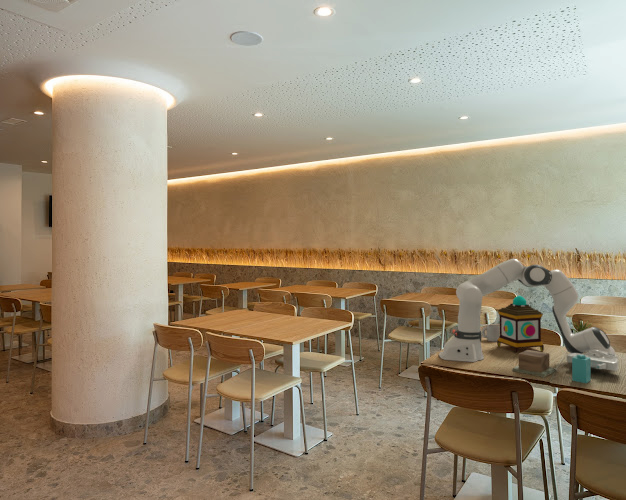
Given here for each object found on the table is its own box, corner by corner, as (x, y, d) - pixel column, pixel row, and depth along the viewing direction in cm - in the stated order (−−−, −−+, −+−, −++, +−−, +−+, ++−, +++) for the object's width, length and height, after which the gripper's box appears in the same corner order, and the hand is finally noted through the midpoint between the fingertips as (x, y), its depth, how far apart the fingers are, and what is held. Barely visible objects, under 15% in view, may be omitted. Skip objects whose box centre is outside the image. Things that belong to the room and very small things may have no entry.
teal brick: (586, 383, 191) (586, 357, 190) (572, 380, 195) (572, 355, 195) (590, 380, 194) (590, 355, 194) (576, 377, 199) (576, 353, 198)
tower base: (543, 377, 200) (543, 359, 200) (512, 370, 210) (512, 353, 210) (555, 370, 209) (555, 353, 209) (525, 364, 219) (525, 348, 219)
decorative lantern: (493, 345, 258) (492, 294, 257) (523, 343, 262) (523, 292, 261) (515, 354, 238) (515, 298, 238) (548, 352, 242) (547, 297, 241)
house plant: (584, 353, 238) (584, 322, 238) (561, 347, 251) (561, 318, 250) (602, 350, 244) (602, 320, 243) (578, 344, 256) (578, 316, 256)
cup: (499, 342, 267) (499, 327, 266) (482, 341, 270) (481, 326, 270) (499, 339, 273) (499, 325, 273) (481, 338, 277) (481, 324, 276)
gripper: (572, 348, 216) (561, 353, 207) (622, 356, 201) (612, 362, 192) (572, 361, 216) (561, 367, 207) (622, 370, 201) (612, 377, 192)
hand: (586, 365), depth 199 cm, fingers open, 8 cm apart
